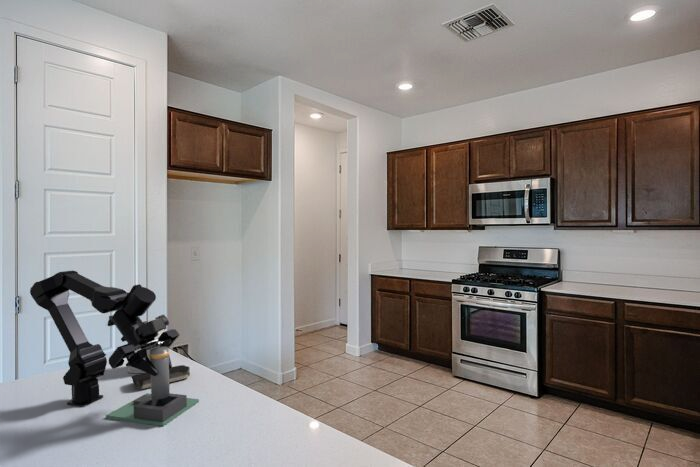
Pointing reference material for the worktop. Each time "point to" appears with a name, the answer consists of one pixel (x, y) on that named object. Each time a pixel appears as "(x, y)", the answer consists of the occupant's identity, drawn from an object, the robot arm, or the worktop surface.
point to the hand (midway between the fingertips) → (163, 371)
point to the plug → (160, 372)
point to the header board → (153, 409)
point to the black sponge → (174, 375)
